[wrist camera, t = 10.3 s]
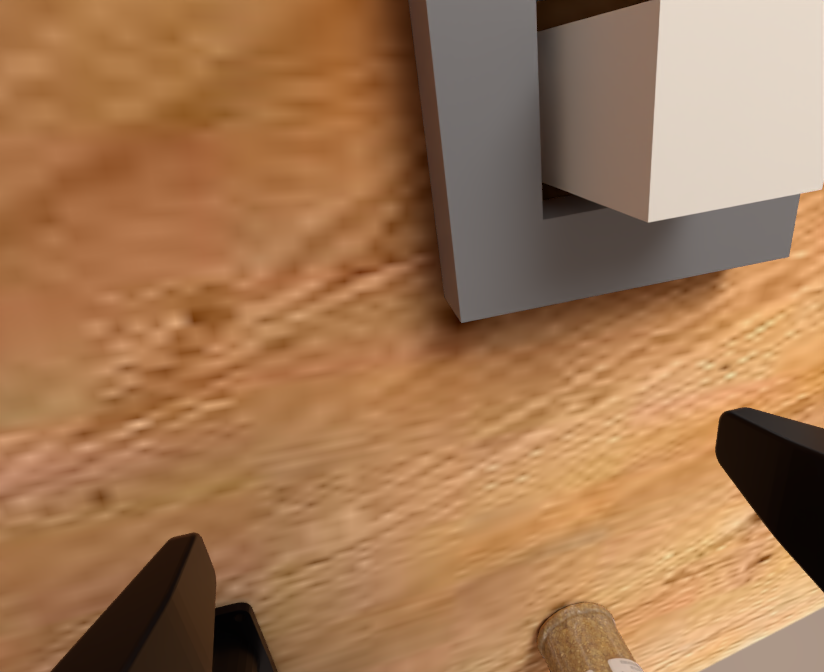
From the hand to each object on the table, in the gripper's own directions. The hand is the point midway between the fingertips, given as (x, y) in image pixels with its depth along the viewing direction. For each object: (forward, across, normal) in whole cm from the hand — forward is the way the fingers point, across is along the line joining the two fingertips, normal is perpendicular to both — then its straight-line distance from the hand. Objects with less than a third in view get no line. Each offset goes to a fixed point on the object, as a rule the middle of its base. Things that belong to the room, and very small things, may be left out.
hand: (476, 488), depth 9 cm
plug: (+11, -8, -5) cm, 15 cm away
